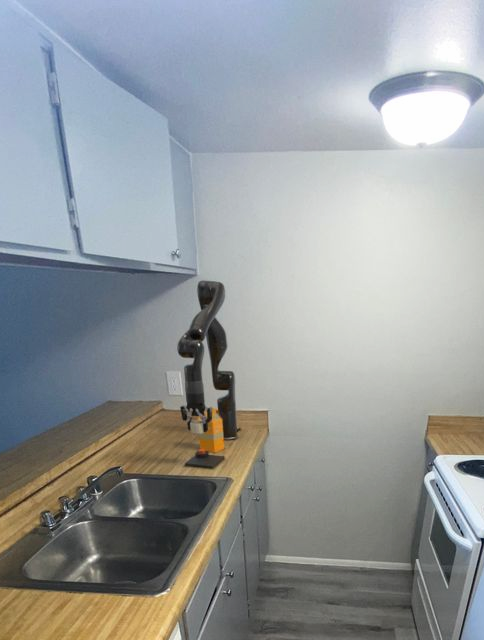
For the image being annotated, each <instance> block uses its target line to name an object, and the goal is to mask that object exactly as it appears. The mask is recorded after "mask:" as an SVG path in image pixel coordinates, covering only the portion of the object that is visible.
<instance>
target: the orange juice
mask: <svg viewBox="0 0 484 640" xmlns="http://www.w3.org/2000/svg"><path fill="white" fill-rule="evenodd" d="M204 413H205V415H206V418H207V412H206V410H205V411H204ZM197 417H198V418H197V420H200V421H202V419H200V417H199V416H197ZM198 439H199V449H205V451H208V453H209V452H210V453H217V452H219V451H222V450H224V449H225V442H224V441H225V440H223V424H222V418H221V416H220V415H219V413H218V408H216V407H215V408H214V407H212V421H211V422H209V423H208V430H207V432H204V433H203V434H198Z"/></svg>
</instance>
